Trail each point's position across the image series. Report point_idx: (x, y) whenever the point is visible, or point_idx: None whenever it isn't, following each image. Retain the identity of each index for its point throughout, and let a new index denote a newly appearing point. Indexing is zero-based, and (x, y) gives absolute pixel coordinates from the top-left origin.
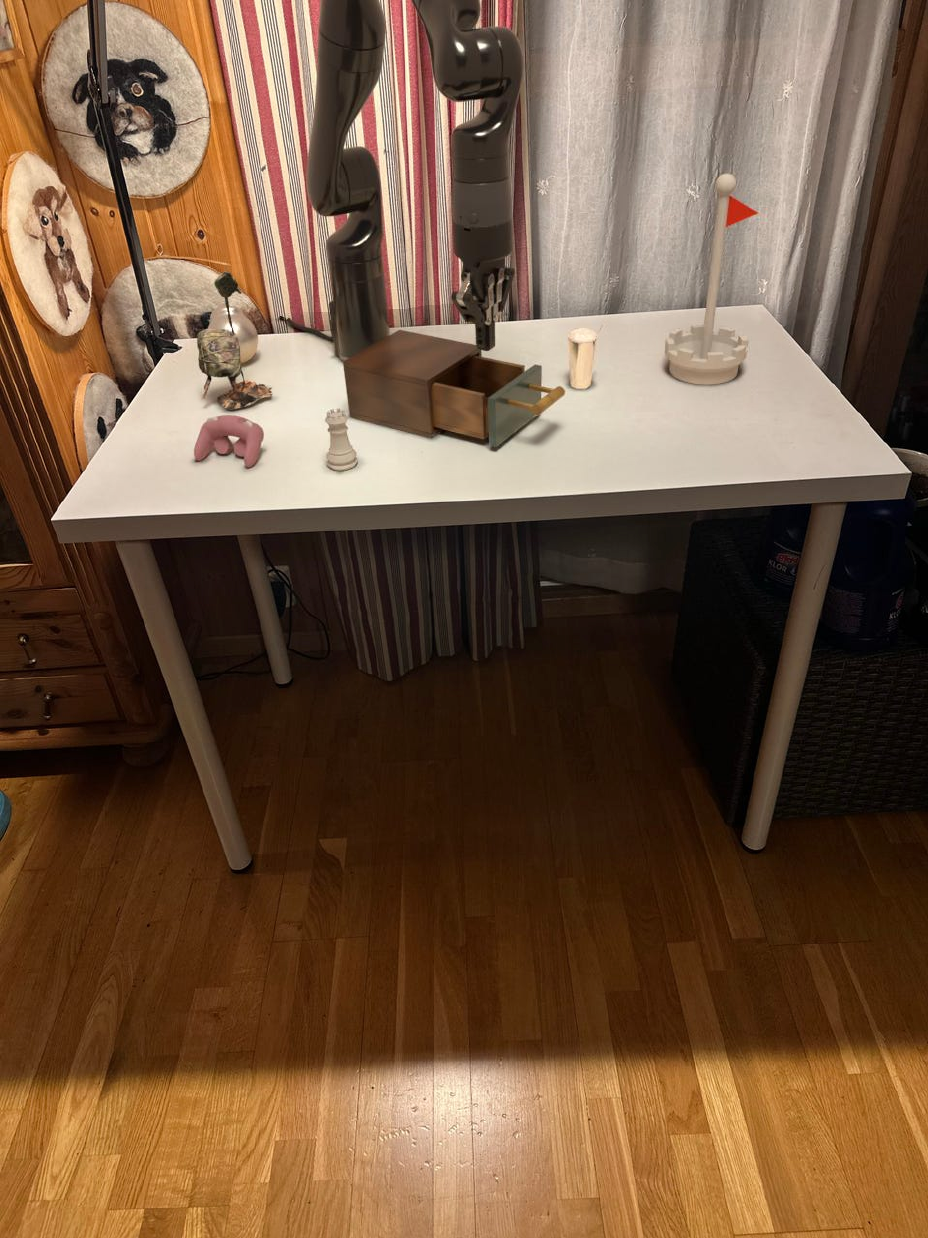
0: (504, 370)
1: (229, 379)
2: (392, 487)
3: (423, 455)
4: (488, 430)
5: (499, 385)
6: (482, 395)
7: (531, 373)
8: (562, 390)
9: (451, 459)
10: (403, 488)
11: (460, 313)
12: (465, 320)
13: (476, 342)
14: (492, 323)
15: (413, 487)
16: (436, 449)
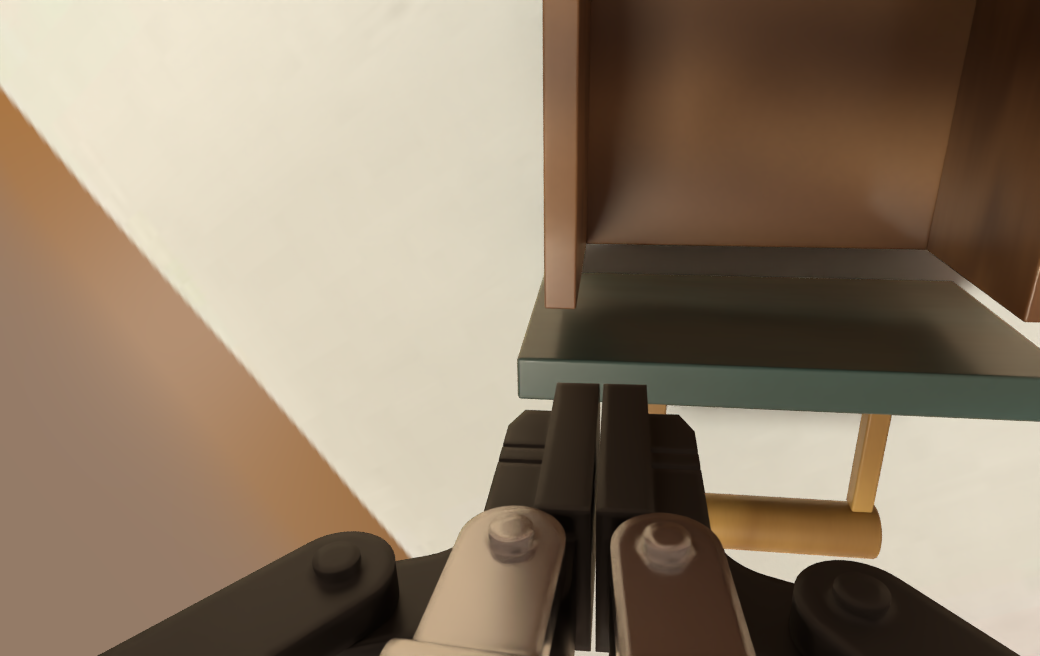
0: (1030, 183)
1: None
2: (119, 85)
3: (378, 34)
4: (607, 241)
5: (988, 126)
6: (547, 307)
7: (931, 415)
8: (855, 557)
9: (414, 164)
10: (141, 129)
11: (138, 636)
12: (294, 561)
13: (507, 435)
14: (601, 647)
15: (170, 158)
16: (452, 53)
